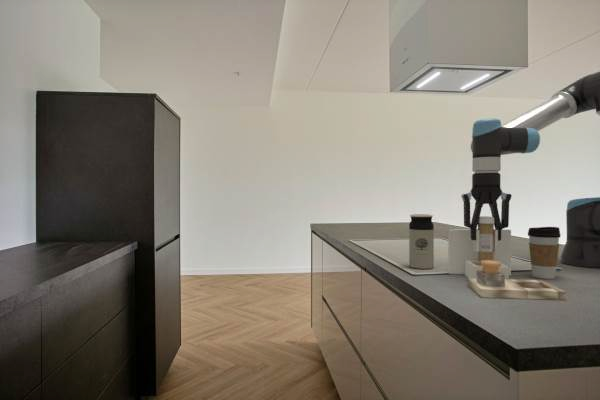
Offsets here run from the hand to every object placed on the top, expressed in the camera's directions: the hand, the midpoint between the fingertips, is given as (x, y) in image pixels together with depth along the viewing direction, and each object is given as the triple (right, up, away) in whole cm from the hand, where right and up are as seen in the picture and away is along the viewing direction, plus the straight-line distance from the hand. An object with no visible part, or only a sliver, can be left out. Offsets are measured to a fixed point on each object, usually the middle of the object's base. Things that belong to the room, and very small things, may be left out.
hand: (485, 251), depth 114 cm
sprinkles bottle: (0, -3, 0) cm, 3 cm away
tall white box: (0, -8, +1) cm, 8 cm away
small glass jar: (-6, -6, -14) cm, 16 cm away
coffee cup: (+19, -8, +2) cm, 21 cm away
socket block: (0, -9, -15) cm, 17 cm away
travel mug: (-13, -8, +18) cm, 24 cm away
